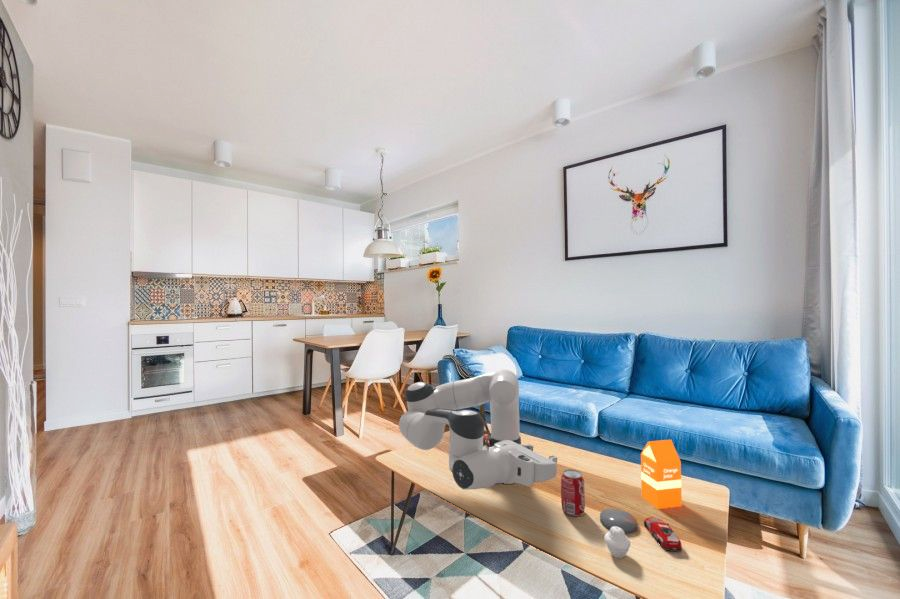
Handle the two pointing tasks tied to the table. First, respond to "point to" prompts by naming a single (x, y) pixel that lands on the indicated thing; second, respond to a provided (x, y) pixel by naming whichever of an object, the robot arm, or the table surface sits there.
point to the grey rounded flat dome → (618, 520)
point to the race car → (663, 534)
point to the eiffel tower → (482, 414)
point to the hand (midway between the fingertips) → (543, 453)
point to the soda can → (572, 492)
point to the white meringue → (617, 542)
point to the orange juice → (661, 474)
